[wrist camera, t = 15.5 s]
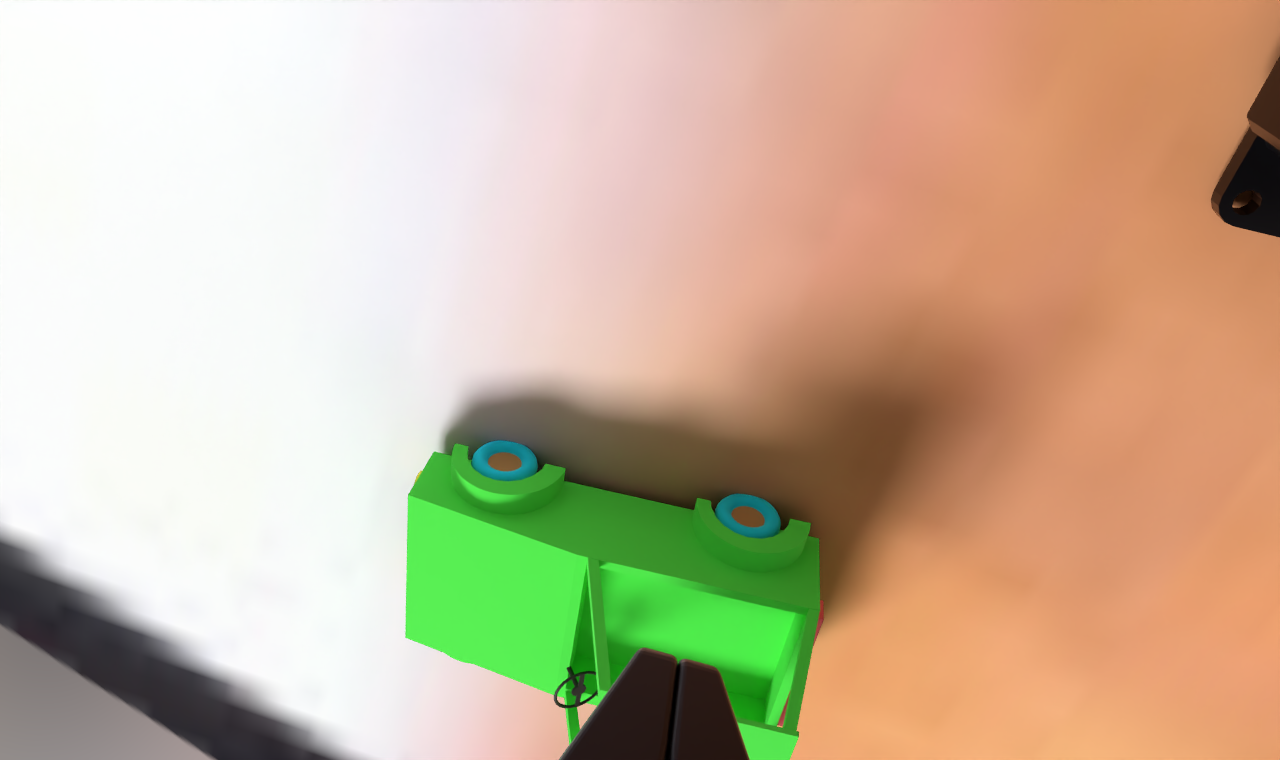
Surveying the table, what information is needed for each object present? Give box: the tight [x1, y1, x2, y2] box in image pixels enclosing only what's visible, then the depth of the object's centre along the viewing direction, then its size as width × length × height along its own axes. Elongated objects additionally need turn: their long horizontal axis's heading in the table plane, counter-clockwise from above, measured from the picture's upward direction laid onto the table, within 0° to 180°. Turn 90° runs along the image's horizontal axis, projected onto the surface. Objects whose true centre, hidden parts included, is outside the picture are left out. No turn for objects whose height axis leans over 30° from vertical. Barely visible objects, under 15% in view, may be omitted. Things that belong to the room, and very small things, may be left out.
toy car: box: [405, 440, 824, 760], centre depth 24 cm, size 11×7×7 cm, turn 82°
